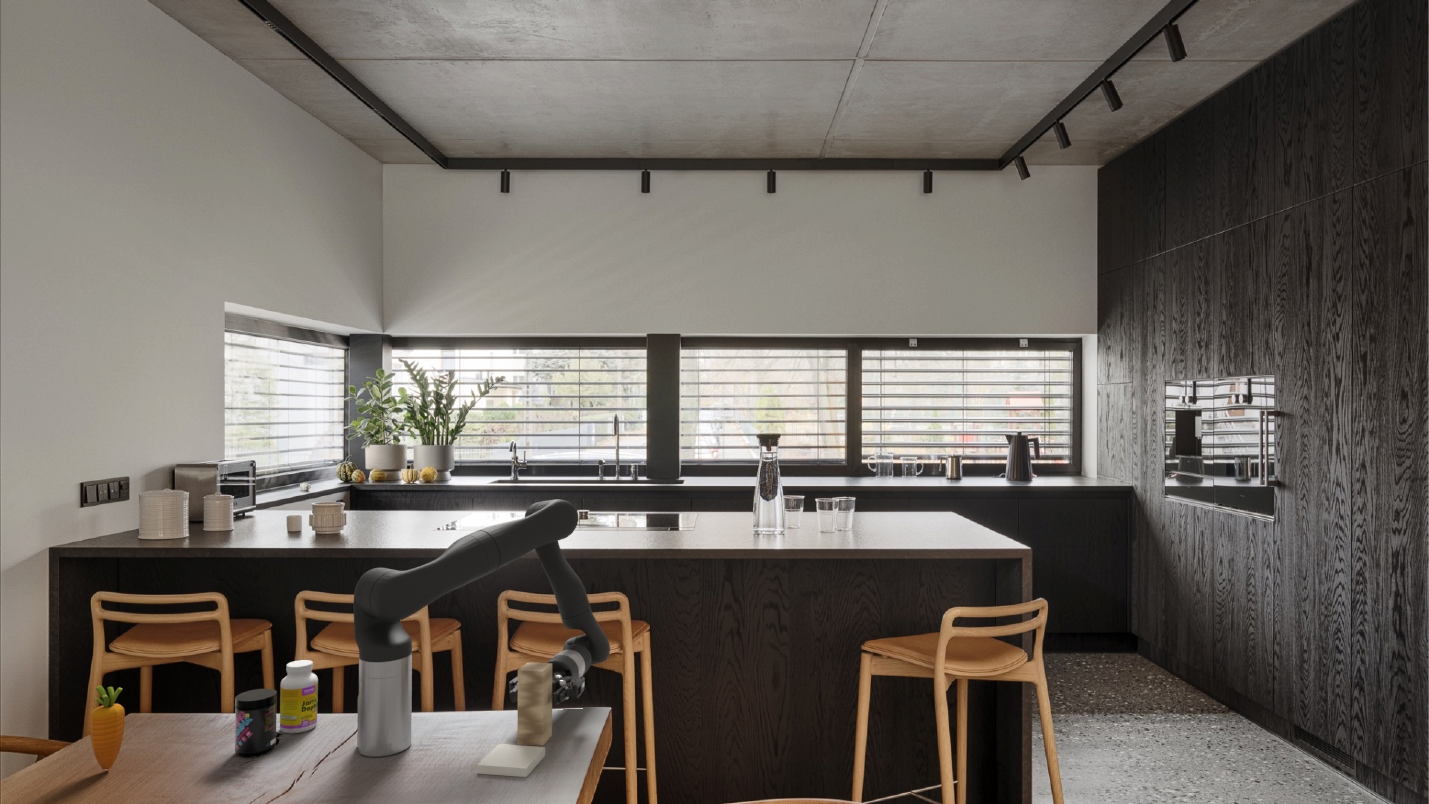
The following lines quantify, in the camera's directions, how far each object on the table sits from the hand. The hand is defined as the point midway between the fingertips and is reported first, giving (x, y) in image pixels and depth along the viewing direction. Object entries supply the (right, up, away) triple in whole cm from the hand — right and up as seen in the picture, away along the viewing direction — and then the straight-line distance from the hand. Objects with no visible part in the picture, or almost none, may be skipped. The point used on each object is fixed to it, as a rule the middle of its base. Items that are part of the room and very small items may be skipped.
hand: (534, 698), depth 155 cm
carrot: (-72, -8, -14) cm, 73 cm away
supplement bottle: (-48, -8, +6) cm, 49 cm away
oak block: (0, -8, 0) cm, 8 cm away
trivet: (-2, -8, -11) cm, 13 cm away
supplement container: (-51, -8, -5) cm, 51 cm away
